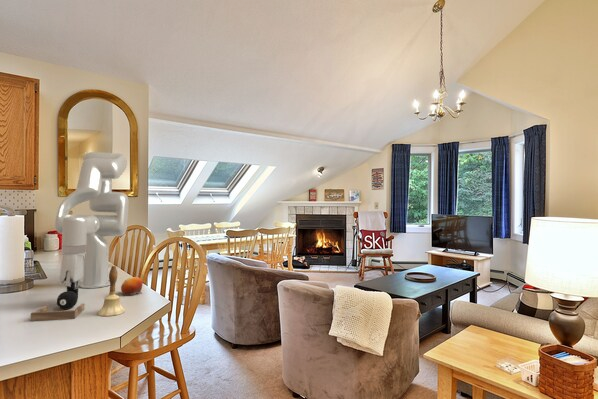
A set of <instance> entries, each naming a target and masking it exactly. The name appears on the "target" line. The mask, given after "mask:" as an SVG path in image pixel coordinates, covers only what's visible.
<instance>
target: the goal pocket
mask: <svg viewBox="0 0 598 399" xmlns="http://www.w3.org/2000/svg"><path fill="white" fill-rule="evenodd" d="M85 306H86V304H85V303H80V305H78V306H77V307H76V308H75V309H73V310H68V309H67V310H52V311H51V310H50V311H49V305H43V306H41V307H40V308H38V309H37V310H36V311H31V313H30V322H40V321H41V322H42V321H44V322H45V321H57V320H61V321H62V320H75V318H77V317H78V316H79V315H80V314H81V313H82V312H83V311H84V310H85Z"/></svg>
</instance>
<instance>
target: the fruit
mask: <svg viewBox="0 0 598 399" xmlns="http://www.w3.org/2000/svg"><path fill="white" fill-rule="evenodd" d="M142 288H143V280H142V279H141V277H138V276H133V277H132V276H131V277H129V278H127V279H125V280H124V281H123V282H122V284H121V286H120V291H121V292H122V294H124V296H125V295H126V296H135V295H136V294H138V293H140V294H142V292H141V291H142Z"/></svg>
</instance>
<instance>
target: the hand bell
mask: <svg viewBox="0 0 598 399" xmlns="http://www.w3.org/2000/svg"><path fill="white" fill-rule="evenodd" d="M117 279H118V269H117V266H116V265H111V267H110V270H109V272H108V280H109V281H110V285H109V294H108V295H106V296H105V297H104V300H103V305H102V306H101V309H100V310H99V311H98V312H97V316H100V317H112V316H113V317H114V316H118V315H121V314H124V313H125V312H126V309H125V308H124V307H123V306H122V304H121V302H120V301H121V300H120V296H119V295H118V294H116V284H117Z"/></svg>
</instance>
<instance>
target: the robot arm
mask: <svg viewBox="0 0 598 399" xmlns="http://www.w3.org/2000/svg"><path fill="white" fill-rule="evenodd" d="M82 160H83V161H82V163H81V166H80V170H79V171H80V172H79V175H78V181H77V183H76V184H77V185H76V189H75V190H74V191H73V192H71V193H70V194H68V196H66V197H65V198H64V199H63V200H62V201H61V202H60V204H59V205H58V208H57V212H56V215H55V216H56V217H55V221H54V229H55V231H56V232H57V233H58V234H61V235H62V236H61V256H62V258H61V265H60V275H59V283H61V284H64V283H65V288H66V291H72V292H74V293H76V295H77V297H78V298H79V288H82V289H96V288H97V289H98V288H104V287H107V286H110V281H109V255H110V245H109V243H108V241H107V240H106V239H105V237H122V236H124V235H126V233H127V230H128V222H129V206H130V205H129V204H130V202H129V196H128V195H127V194H126V193H125V192H120V191H119V192H118V191H113V190H112V189H113V181H112V180H117V179H119V178H121V176H122V175H123V174H124V173H125V171H126V169H127V166H128V161H127V157H126V155H124V154H123V153H114V152H113V153H112V152H98V151H91V152H87V153H85V154H84V155H83V158H82ZM87 201H89V204H88V205H89V209H90V210H91V211H92V212H95V213H111V214H112V213H113V214H116V215H111V214H110V215H109V214H93V215H92V214H69V213H70V211H71V210H72V209H73V208H74V207H76V206H78V205H80V204H82V203H85V202H87ZM82 278H83V279H82ZM81 279H82V280H83V281H80V280H81Z"/></svg>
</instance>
